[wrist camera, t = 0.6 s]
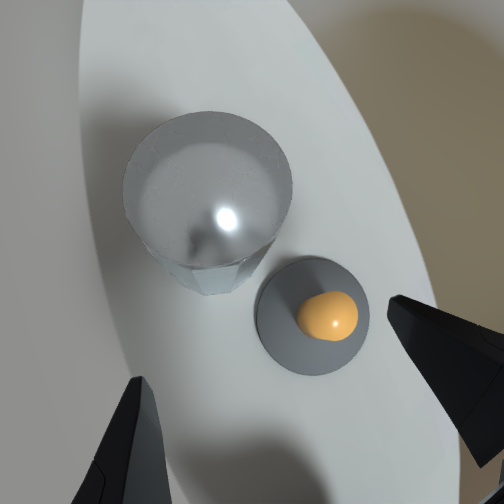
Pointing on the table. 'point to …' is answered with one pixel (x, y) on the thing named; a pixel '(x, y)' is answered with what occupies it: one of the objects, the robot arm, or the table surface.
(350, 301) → the orange egg shape
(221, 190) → the grey cup
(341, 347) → the rubber pad
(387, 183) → the table surface
